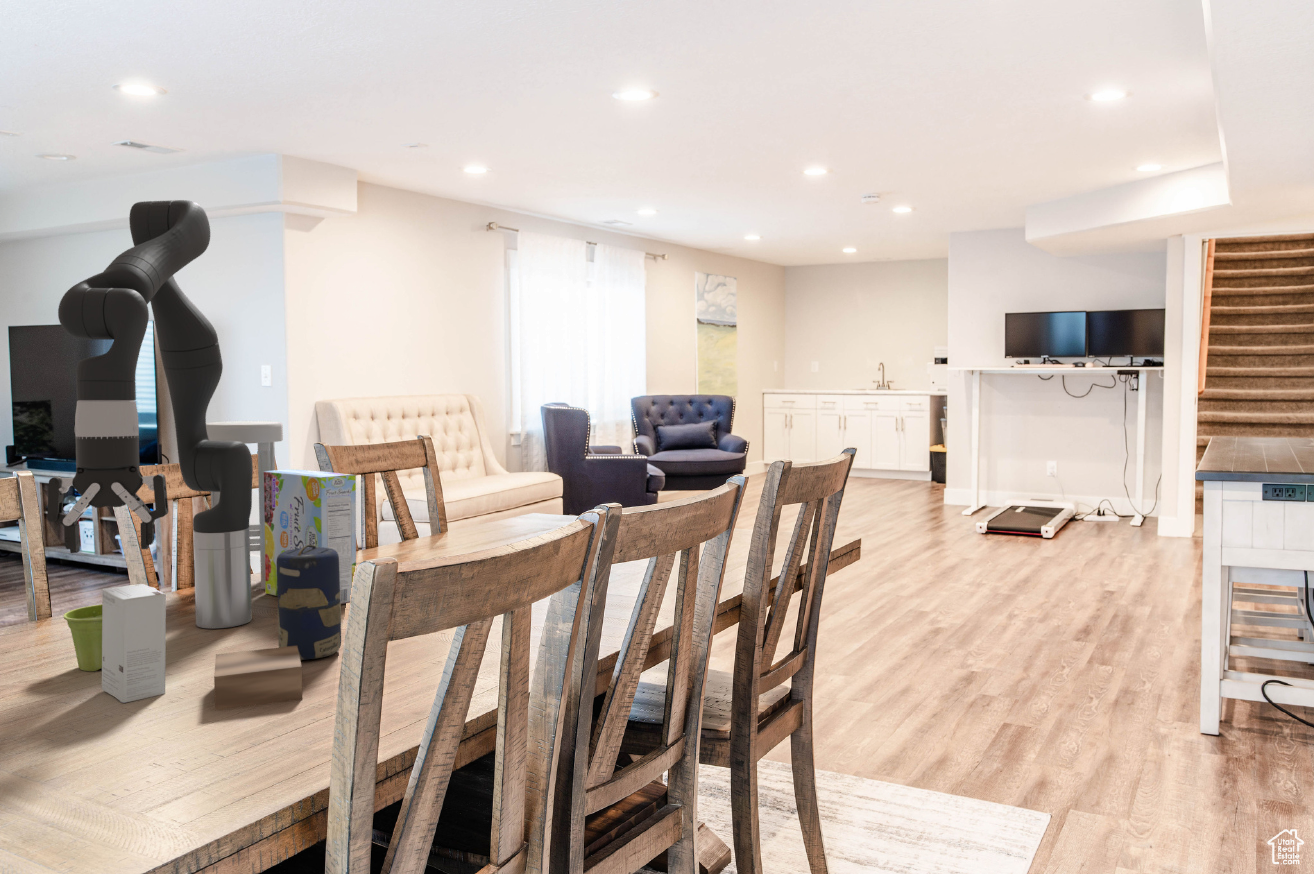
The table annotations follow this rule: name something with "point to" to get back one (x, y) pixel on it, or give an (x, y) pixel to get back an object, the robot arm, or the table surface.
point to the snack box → (310, 519)
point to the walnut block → (257, 677)
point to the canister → (309, 601)
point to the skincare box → (133, 642)
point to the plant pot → (87, 636)
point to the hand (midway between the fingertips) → (110, 550)
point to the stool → (265, 437)
